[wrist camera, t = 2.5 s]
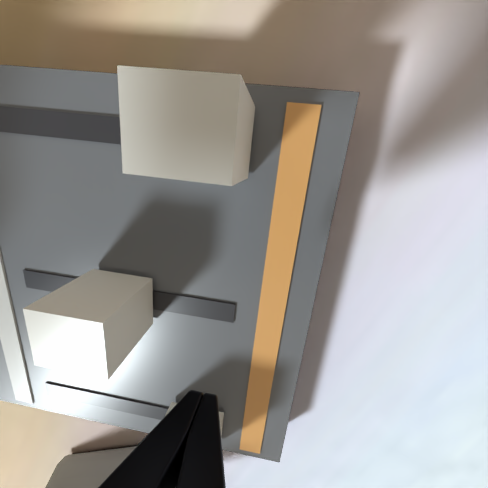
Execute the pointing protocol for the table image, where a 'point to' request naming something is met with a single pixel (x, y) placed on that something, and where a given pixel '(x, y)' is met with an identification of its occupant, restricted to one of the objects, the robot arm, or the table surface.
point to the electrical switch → (87, 468)
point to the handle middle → (90, 323)
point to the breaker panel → (168, 252)
